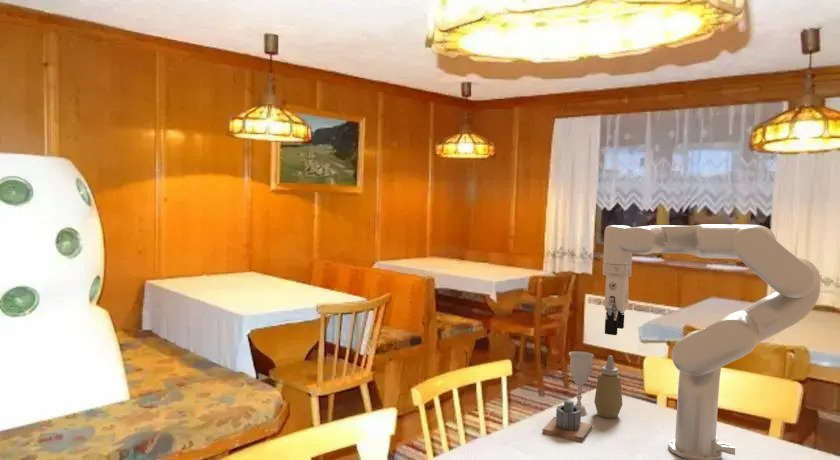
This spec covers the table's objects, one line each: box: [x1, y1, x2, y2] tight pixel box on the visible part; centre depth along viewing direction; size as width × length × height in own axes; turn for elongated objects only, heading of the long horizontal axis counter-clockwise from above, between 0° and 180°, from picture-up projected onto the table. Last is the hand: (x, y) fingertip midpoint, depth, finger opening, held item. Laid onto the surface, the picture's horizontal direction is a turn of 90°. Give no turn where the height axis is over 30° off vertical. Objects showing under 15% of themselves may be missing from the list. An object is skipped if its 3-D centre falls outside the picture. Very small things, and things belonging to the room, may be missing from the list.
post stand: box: [542, 399, 593, 443], centre depth 168 cm, size 11×11×8 cm
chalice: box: [568, 350, 595, 417], centre depth 182 cm, size 7×7×18 cm
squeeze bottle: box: [593, 355, 623, 419], centre depth 181 cm, size 8×8×18 cm
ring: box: [555, 404, 582, 431], centre depth 168 cm, size 6×6×5 cm
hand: (614, 331), depth 168 cm, fingers open, 9 cm apart
